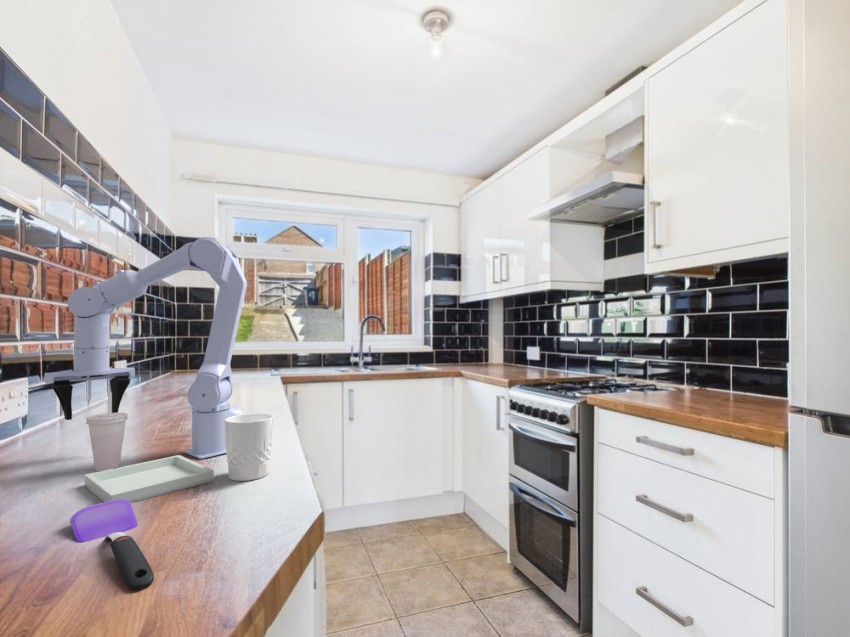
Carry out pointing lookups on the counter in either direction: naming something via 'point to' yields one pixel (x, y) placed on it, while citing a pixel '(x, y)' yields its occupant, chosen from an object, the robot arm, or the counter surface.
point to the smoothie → (107, 437)
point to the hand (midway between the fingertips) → (92, 416)
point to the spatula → (115, 538)
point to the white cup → (248, 446)
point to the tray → (148, 479)
